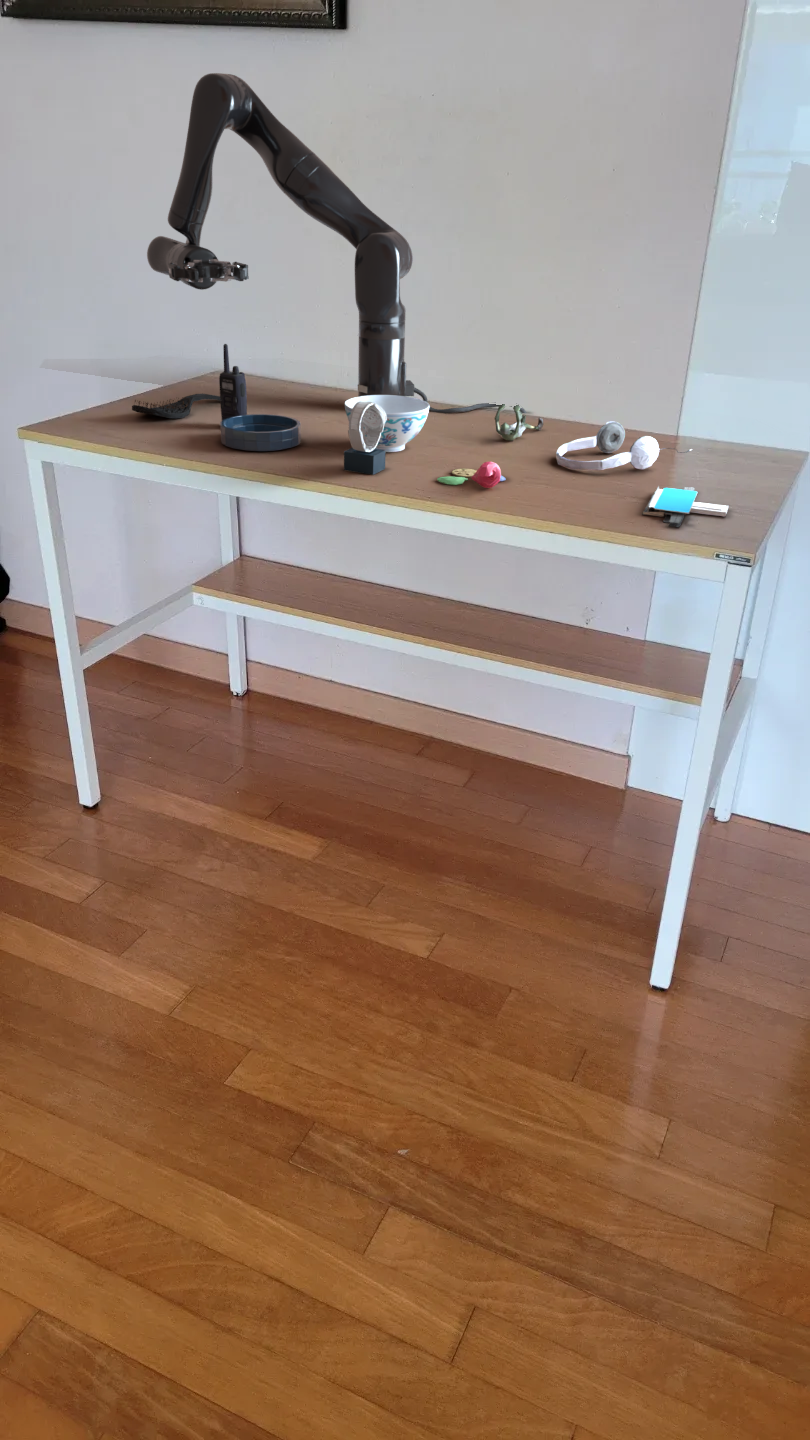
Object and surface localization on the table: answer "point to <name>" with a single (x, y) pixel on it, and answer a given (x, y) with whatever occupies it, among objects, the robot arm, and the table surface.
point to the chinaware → (395, 419)
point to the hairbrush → (173, 406)
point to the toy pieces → (476, 475)
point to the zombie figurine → (514, 425)
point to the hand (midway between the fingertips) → (219, 275)
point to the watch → (361, 453)
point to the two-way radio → (232, 390)
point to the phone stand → (679, 505)
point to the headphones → (611, 450)
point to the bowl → (260, 432)
